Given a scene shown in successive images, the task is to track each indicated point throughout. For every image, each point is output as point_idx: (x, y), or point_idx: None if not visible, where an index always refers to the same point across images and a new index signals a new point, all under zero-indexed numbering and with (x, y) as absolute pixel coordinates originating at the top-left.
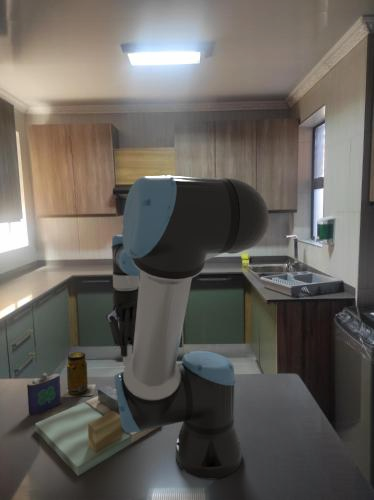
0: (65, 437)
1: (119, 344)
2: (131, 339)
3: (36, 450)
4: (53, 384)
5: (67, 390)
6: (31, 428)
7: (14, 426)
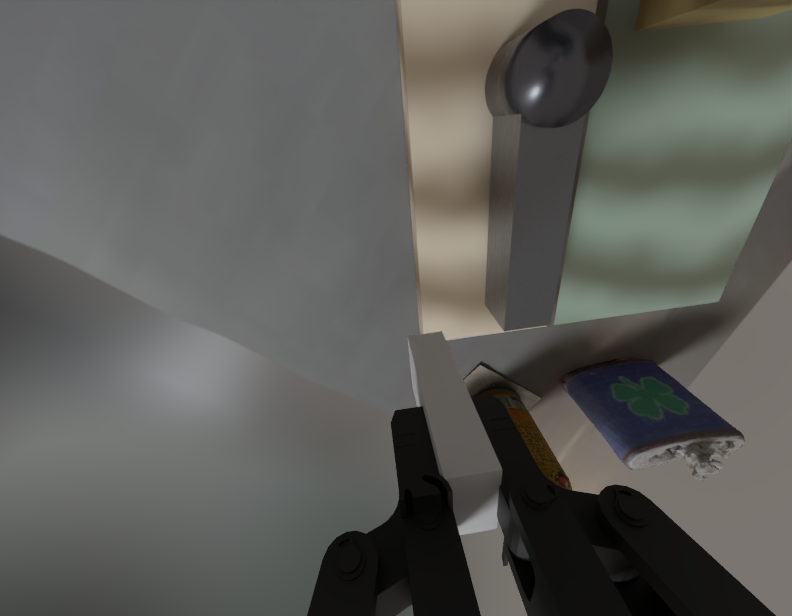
0: (744, 156)
1: (657, 510)
2: (464, 561)
3: (767, 195)
4: (646, 425)
5: None
6: (691, 308)
7: (703, 342)
